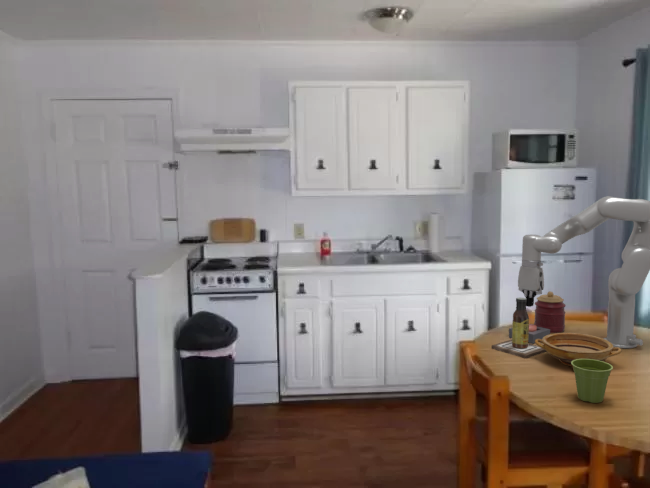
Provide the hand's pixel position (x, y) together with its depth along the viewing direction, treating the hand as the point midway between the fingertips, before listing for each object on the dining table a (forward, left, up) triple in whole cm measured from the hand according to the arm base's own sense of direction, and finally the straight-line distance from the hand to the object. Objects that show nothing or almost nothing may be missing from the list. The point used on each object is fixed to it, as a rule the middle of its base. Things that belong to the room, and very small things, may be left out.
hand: (529, 305), depth 236 cm
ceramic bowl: (-29, +13, -14) cm, 35 cm away
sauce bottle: (-7, +17, -13) cm, 22 cm away
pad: (-7, +17, -14) cm, 23 cm away
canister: (+2, -18, -14) cm, 23 cm away
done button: (0, 0, -12) cm, 12 cm away
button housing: (0, 0, -14) cm, 14 cm away
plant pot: (-50, +41, -14) cm, 66 cm away
